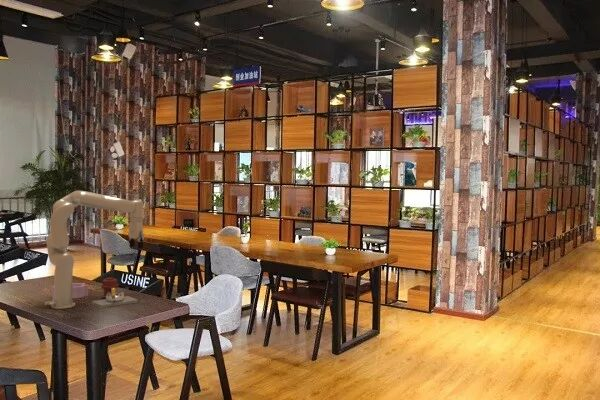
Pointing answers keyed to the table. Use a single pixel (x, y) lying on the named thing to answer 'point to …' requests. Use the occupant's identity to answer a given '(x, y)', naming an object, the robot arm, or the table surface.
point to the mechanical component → (109, 285)
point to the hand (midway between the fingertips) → (136, 247)
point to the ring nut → (114, 296)
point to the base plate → (104, 303)
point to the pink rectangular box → (77, 290)
